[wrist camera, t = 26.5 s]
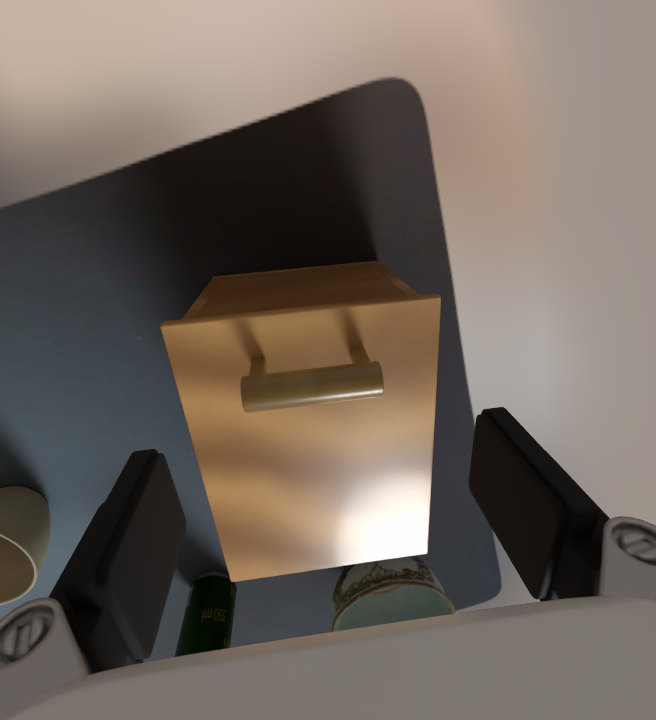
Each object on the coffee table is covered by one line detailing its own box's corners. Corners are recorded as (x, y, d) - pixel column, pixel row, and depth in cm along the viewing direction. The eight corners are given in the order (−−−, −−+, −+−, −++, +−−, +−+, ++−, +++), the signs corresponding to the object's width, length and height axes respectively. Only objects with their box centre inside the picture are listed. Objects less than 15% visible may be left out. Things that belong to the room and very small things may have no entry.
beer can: (192, 599, 47) (165, 724, 36) (190, 569, 45) (160, 693, 34) (237, 598, 48) (223, 720, 37) (237, 568, 46) (222, 689, 35)
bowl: (307, 542, 45) (312, 610, 38) (417, 506, 44) (442, 569, 37) (342, 608, 51) (352, 678, 44) (439, 577, 50) (465, 643, 43)
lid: (164, 320, 19) (129, 360, 14) (435, 292, 20) (477, 322, 15) (232, 571, 26) (222, 644, 22) (424, 544, 27) (449, 608, 23)
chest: (213, 276, 31) (168, 335, 19) (378, 260, 32) (435, 307, 20) (248, 449, 39) (232, 571, 27) (381, 433, 39) (423, 543, 27)
